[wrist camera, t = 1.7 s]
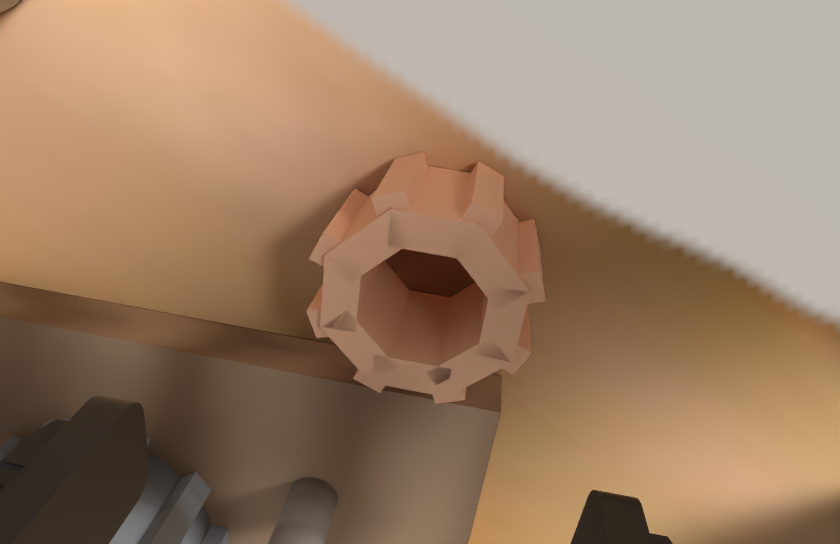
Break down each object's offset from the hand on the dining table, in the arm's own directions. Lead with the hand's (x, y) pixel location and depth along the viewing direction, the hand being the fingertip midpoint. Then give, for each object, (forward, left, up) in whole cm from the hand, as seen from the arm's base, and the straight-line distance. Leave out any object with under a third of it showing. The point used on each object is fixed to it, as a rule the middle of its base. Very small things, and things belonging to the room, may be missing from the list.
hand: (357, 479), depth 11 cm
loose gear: (0, 0, -10) cm, 10 cm away
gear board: (+8, +11, -10) cm, 17 cm away
